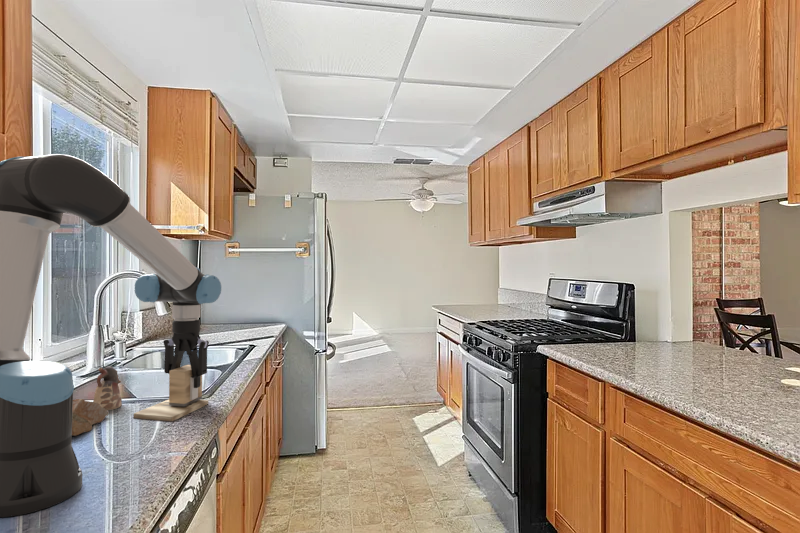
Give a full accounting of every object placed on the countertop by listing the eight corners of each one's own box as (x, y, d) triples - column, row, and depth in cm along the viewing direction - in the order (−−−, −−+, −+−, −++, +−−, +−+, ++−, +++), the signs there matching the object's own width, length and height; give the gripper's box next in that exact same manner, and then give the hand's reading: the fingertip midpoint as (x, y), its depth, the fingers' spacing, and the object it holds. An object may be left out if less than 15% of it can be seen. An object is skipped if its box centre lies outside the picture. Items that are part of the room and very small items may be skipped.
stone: (80, 432, 109) (73, 392, 112) (39, 447, 107) (33, 406, 110) (115, 433, 125) (108, 397, 128) (80, 446, 123) (74, 410, 126)
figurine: (126, 406, 135) (127, 365, 135) (100, 412, 129) (100, 370, 129) (114, 402, 139) (115, 362, 139) (88, 407, 133) (89, 366, 133)
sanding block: (184, 406, 130) (184, 371, 130) (169, 405, 131) (169, 370, 131) (201, 398, 138) (202, 365, 138) (187, 397, 139) (187, 364, 139)
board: (172, 421, 122) (172, 416, 122) (133, 417, 125) (133, 413, 125) (208, 404, 138) (208, 400, 138) (173, 401, 140) (173, 397, 140)
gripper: (221, 318, 136) (220, 396, 136) (168, 316, 140) (167, 392, 140) (206, 321, 129) (204, 403, 129) (150, 319, 132) (149, 399, 132)
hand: (185, 397), depth 134 cm, fingers closed on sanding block, 5 cm apart
